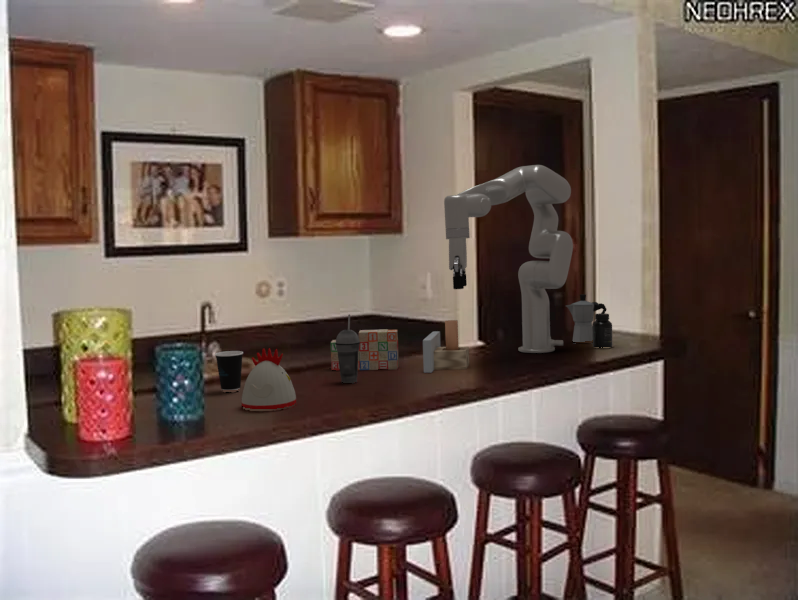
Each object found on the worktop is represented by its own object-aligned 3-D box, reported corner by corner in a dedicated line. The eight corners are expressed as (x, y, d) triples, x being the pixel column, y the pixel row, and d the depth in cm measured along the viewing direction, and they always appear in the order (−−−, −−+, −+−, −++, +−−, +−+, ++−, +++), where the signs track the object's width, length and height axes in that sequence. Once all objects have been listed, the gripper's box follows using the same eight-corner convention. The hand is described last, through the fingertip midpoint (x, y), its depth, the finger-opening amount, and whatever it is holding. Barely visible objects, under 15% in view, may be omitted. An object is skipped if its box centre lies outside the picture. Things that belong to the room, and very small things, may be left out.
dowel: (459, 363, 266) (458, 320, 265) (458, 365, 263) (456, 321, 262) (447, 363, 267) (445, 320, 266) (445, 365, 263) (444, 321, 262)
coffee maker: (566, 344, 307) (565, 295, 305) (565, 341, 315) (565, 293, 314) (608, 343, 304) (607, 294, 303) (606, 340, 313) (605, 292, 311)
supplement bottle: (612, 346, 298) (611, 312, 297) (612, 349, 291) (612, 314, 290) (592, 346, 299) (592, 313, 298) (592, 349, 293) (592, 315, 292)
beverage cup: (350, 379, 249) (347, 312, 247) (366, 381, 243) (364, 313, 242) (331, 382, 243) (328, 314, 242) (348, 385, 238) (345, 316, 237)
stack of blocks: (331, 371, 265) (329, 332, 264) (333, 368, 271) (332, 330, 270) (398, 369, 264) (396, 331, 263) (399, 366, 270) (397, 328, 269)
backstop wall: (440, 361, 277) (440, 331, 276) (431, 372, 255) (430, 340, 254) (433, 361, 277) (432, 331, 276) (423, 372, 256) (422, 340, 255)
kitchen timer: (287, 412, 206) (284, 352, 204) (234, 412, 208) (230, 352, 206) (302, 400, 219) (299, 344, 218) (252, 400, 221) (249, 344, 220)
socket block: (469, 365, 269) (468, 346, 268) (466, 370, 259) (465, 351, 259) (438, 365, 271) (437, 346, 270) (434, 370, 261) (433, 351, 260)
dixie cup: (247, 388, 239) (245, 350, 238) (242, 393, 231) (240, 354, 231) (219, 389, 239) (217, 351, 238) (214, 394, 231) (211, 355, 231)
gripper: (449, 233, 274) (451, 285, 276) (442, 235, 257) (445, 290, 259) (471, 232, 273) (474, 284, 274) (466, 234, 256) (469, 289, 257)
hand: (460, 287), depth 267 cm, fingers open, 9 cm apart
